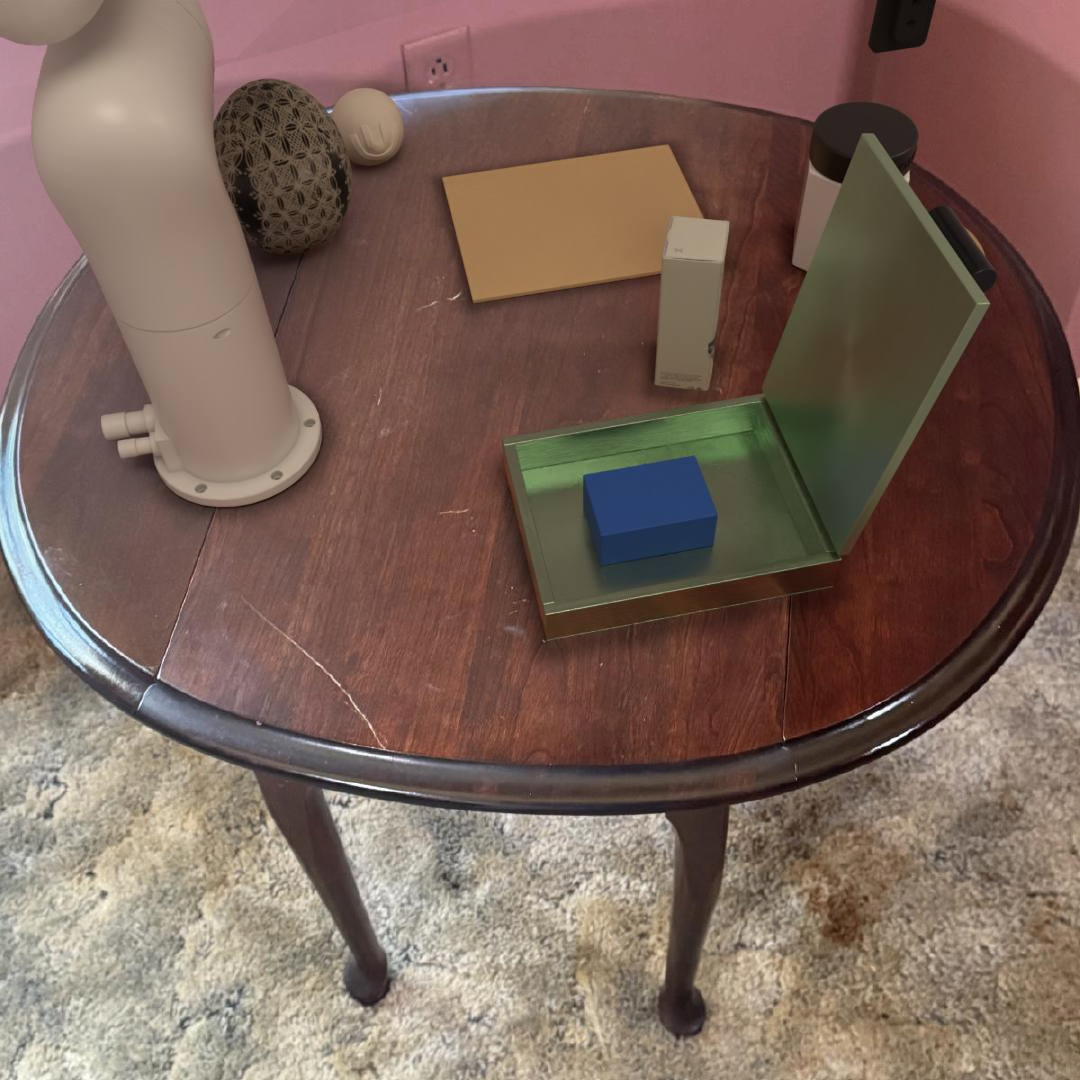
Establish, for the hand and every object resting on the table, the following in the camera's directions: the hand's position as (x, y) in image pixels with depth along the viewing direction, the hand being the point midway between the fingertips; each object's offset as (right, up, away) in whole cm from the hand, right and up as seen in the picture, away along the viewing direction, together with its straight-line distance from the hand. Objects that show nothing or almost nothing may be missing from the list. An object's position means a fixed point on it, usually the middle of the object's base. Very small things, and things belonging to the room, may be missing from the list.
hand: (861, 5), depth 65 cm
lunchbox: (-10, -30, +14) cm, 35 cm away
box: (-7, -18, +24) cm, 31 cm away
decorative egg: (-40, -4, +35) cm, 54 cm away
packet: (-11, -30, +13) cm, 35 cm away
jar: (+7, -6, +32) cm, 33 cm away
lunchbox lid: (0, -20, +4) cm, 20 cm away
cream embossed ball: (-35, +5, +43) cm, 55 cm away
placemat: (-15, -2, +36) cm, 39 cm away
